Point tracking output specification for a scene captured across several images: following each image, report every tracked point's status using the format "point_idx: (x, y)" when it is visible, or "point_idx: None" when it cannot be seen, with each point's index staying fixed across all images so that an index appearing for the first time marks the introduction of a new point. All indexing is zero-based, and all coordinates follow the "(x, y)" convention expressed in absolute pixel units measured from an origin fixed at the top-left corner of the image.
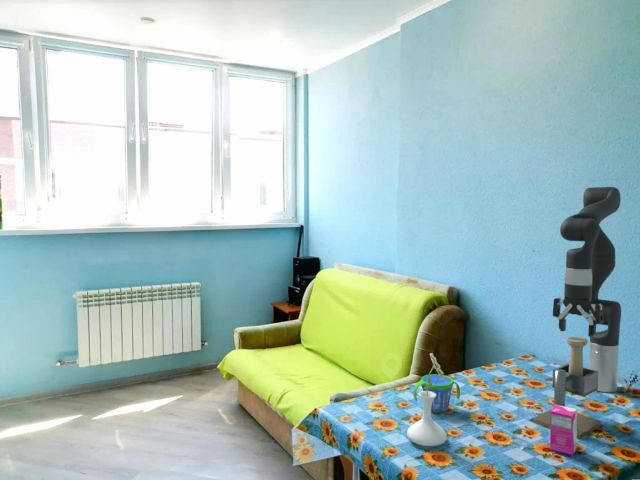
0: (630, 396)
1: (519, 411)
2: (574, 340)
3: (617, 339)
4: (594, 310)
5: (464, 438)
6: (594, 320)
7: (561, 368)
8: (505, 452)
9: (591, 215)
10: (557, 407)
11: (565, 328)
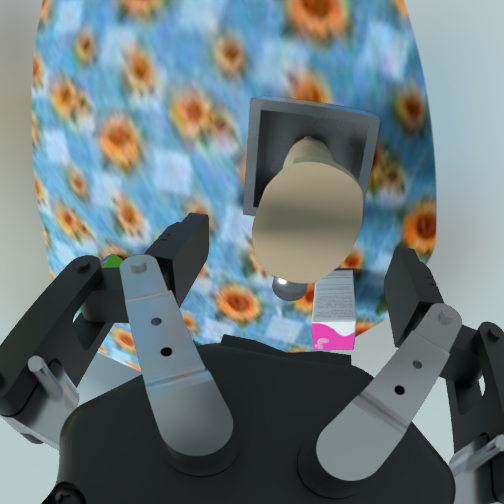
0: None
1: (203, 177)
2: (301, 260)
3: None
4: (455, 454)
5: (207, 329)
6: (441, 376)
7: (256, 169)
8: (268, 334)
9: None
10: (320, 332)
11: (203, 222)
